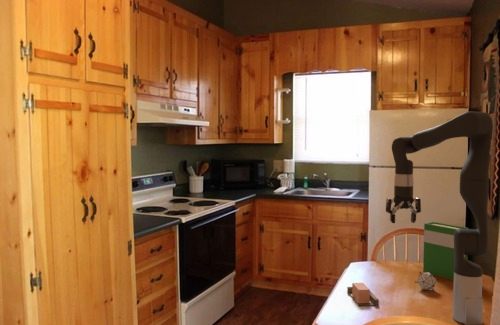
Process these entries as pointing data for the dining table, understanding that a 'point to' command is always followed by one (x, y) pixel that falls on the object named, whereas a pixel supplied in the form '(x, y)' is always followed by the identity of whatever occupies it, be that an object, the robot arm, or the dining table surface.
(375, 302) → the tray
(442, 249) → the hardback book
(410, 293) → the dining table surface
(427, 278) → the game die
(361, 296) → the block
